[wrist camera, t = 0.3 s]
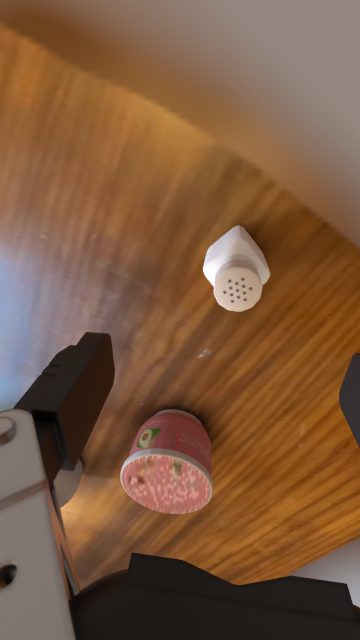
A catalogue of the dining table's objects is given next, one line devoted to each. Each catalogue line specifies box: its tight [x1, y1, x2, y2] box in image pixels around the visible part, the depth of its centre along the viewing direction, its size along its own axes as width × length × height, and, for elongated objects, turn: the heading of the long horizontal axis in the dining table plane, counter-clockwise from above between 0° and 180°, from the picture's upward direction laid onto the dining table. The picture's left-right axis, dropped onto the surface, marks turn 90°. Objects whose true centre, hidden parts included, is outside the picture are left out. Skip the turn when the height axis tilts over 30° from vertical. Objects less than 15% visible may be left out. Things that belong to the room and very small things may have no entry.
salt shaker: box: [203, 225, 270, 312], centre depth 24 cm, size 4×4×10 cm
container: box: [120, 409, 213, 514], centre depth 37 cm, size 10×10×8 cm
